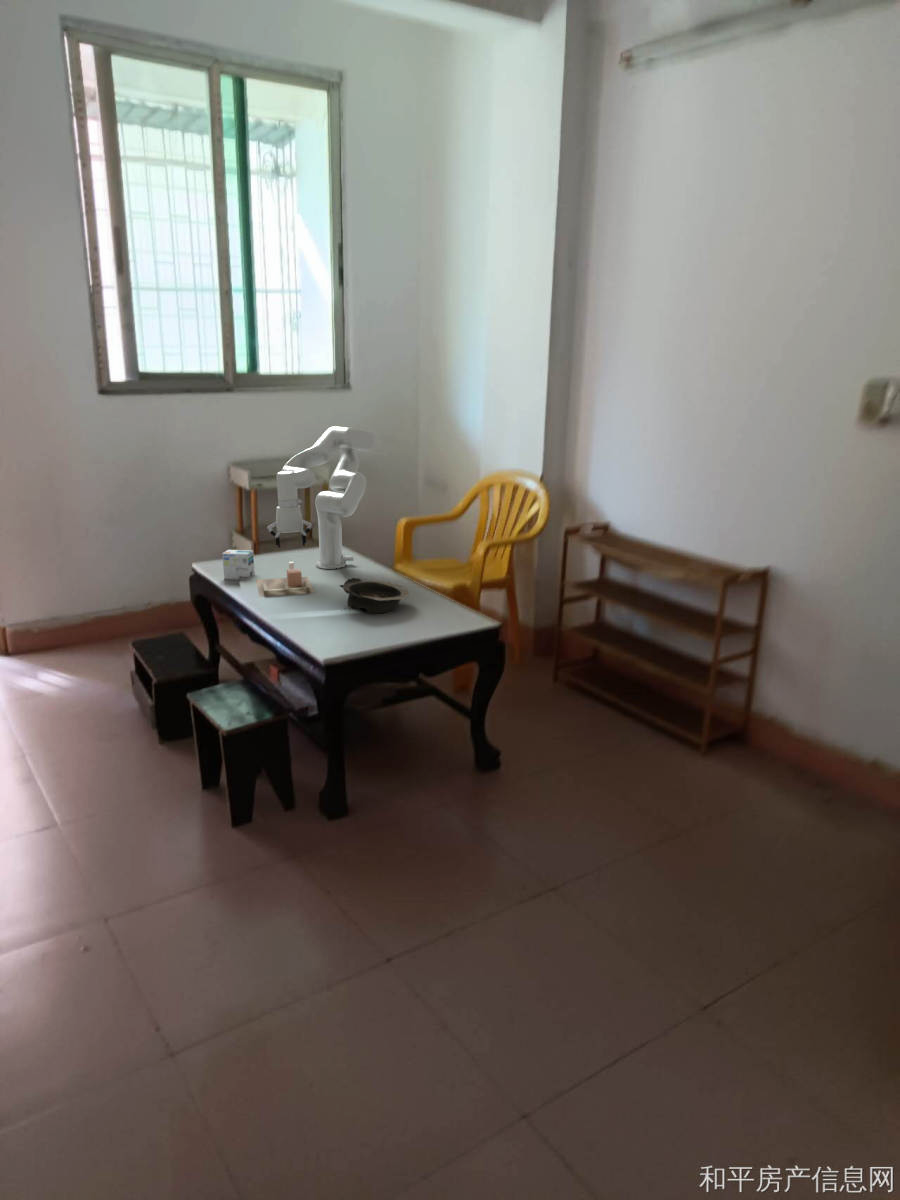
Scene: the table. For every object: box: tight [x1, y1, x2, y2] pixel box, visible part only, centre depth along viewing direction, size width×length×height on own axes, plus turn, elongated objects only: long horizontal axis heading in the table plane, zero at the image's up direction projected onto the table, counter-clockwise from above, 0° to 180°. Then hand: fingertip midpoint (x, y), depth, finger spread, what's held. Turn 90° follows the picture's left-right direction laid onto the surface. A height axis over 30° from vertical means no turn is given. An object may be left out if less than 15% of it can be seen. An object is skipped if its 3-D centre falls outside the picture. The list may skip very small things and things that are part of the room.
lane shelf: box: [255, 576, 315, 597], centre depth 314 cm, size 20×22×4 cm
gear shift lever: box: [286, 561, 303, 586], centre depth 320 cm, size 5×13×6 cm, turn 17°
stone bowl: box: [339, 577, 411, 615], centre depth 296 cm, size 25×25×9 cm
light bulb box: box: [222, 549, 256, 580], centre depth 328 cm, size 11×7×11 cm, turn 84°
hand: (291, 545), depth 325 cm, fingers open, 9 cm apart
